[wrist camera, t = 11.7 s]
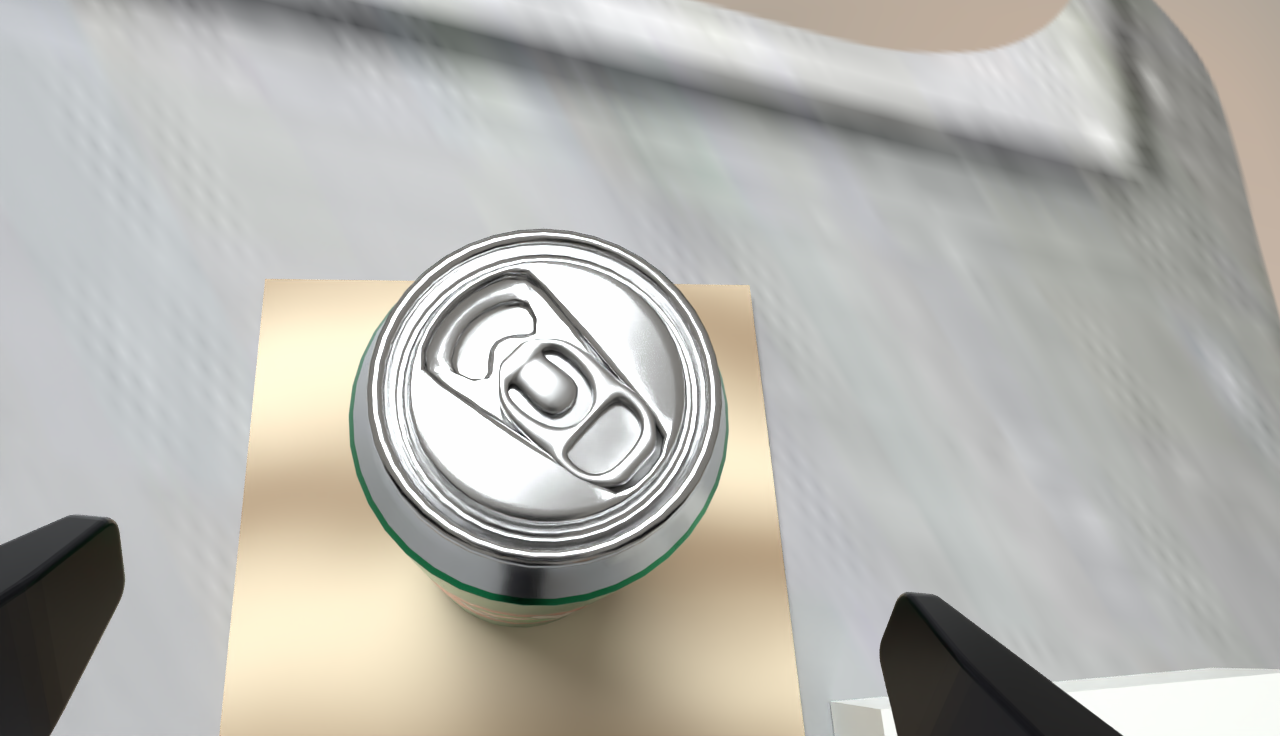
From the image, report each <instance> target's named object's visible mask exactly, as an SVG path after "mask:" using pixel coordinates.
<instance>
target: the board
mask: <svg viewBox="0 0 1280 736" xmlns="http://www.w3.org/2000/svg"><path fill="white" fill-rule="evenodd" d="M413 282H414V281H380V280H303V279H265V287H264V297H263V307H262V317H261V327H260V337H259V347H258V357H257V367H256V377H255V387H254V397H253V406H252V416H251V426H250V436H249V446H248V456H247V466H246V476H245V486H244V496H243V506H242V516H241V526H240V536H239V546H238V556H237V566H236V576H235V586H234V595H233V605H232V615H231V625H230V635H229V645H228V655H227V665H226V675H225V685H224V695H223V705H222V715H221V725H220V735H219V736H805V732H804V724H803V716H802V708H801V700H800V692H799V684H798V675H797V667H796V659H795V651H794V643H793V635H792V627H791V619H790V611H789V602H788V594H787V586H786V578H785V570H784V562H783V554H782V546H781V537H780V529H779V521H778V513H777V505H776V497H775V489H774V481H773V472H772V464H771V456H770V448H769V440H768V432H767V424H766V416H765V408H764V399H763V391H762V383H761V375H760V367H759V359H758V351H757V343H756V334H755V326H754V318H753V310H752V302H751V294H750V286H749V285H691V284H674V285H675V286H676V287H677V288H678V289H679V290H680V291H681V292H682V293H683V295H684V296H685V297H686V299H687V300H688V301H689V303H690V304H691V305H692V307H693V308H694V309H695V311H696V312H697V314H698V316H699V318H700V320H701V321H702V323H703V325H704V327H705V329H706V331H707V332H708V335H709V338H710V341H711V343H712V346H713V349H714V352H715V354H716V358H717V363H718V367H719V370H720V372H721V375H722V378H723V383H724V388H725V393H726V398H727V403H728V421H729V436H728V444H727V452H726V460H725V463H724V467H723V471H722V474H721V478H720V481H719V485H718V487H717V490H716V492H715V494H714V496H713V498H712V500H711V502H710V504H709V507H708V509H707V511H706V513H705V514H704V516H703V517H702V519H701V520H700V522H699V523H698V524H697V526H696V527H695V529H694V530H693V532H692V533H691V535H690V536H689V537H688V538H687V539H686V541H685V542H684V543H683V544H682V545H681V546H680V547H679V548H678V549H677V550H676V551H675V552H674V553H673V554H672V555H671V556H670V557H669V558H668V559H667V560H666V561H664V562H663V563H662V564H660V565H659V566H658V567H656V568H655V569H654V570H652V571H651V572H650V573H648V574H647V575H646V576H644V577H642V578H641V579H639V580H637V581H635V582H633V583H631V584H629V585H627V586H625V587H623V588H621V589H619V590H617V591H616V592H614V593H612V594H610V595H608V596H606V597H604V598H602V599H600V600H598V601H596V602H594V603H592V604H590V605H588V606H586V607H584V608H582V609H580V610H578V611H576V612H574V613H572V614H570V615H568V616H566V617H564V618H562V619H560V620H557V621H554V622H551V623H548V624H545V625H540V626H534V627H506V626H500V625H495V624H492V623H489V622H486V621H483V620H481V619H479V618H477V617H475V616H473V615H471V614H469V613H468V612H466V611H464V610H463V609H462V608H461V607H459V606H458V605H457V604H456V603H454V602H453V601H452V600H451V599H450V598H449V597H448V596H447V595H446V594H445V593H444V592H443V591H442V590H441V589H440V588H439V587H438V586H437V585H436V584H435V583H434V582H433V581H432V580H431V579H430V578H429V577H428V576H427V575H426V574H425V573H424V572H423V571H422V570H421V569H420V568H419V567H418V566H417V565H416V564H415V563H414V562H413V561H412V560H411V559H410V558H409V557H408V556H407V555H406V554H405V553H404V551H403V550H402V549H401V548H400V547H399V546H398V545H397V544H396V542H395V541H394V540H393V539H392V538H391V537H390V536H389V535H388V534H387V532H386V531H385V530H384V529H383V527H382V525H381V524H380V522H379V521H378V519H377V517H376V516H375V514H374V513H373V511H372V509H371V508H370V506H369V505H368V503H367V500H366V498H365V495H364V493H363V490H362V488H361V485H360V483H359V481H358V478H357V476H356V471H355V467H354V462H353V458H352V453H351V448H350V438H349V408H350V400H351V393H352V386H353V382H354V379H355V376H356V373H357V369H358V366H359V363H360V359H361V357H362V355H363V353H364V351H365V349H366V347H367V345H368V343H369V341H370V339H371V337H372V335H373V333H374V331H375V330H376V328H377V327H378V326H379V324H380V323H381V321H382V320H383V319H384V317H385V316H386V315H387V313H388V312H389V310H390V309H391V308H392V307H393V306H394V305H395V304H396V303H397V302H398V300H399V299H400V297H401V296H402V295H403V293H404V292H405V291H406V290H407V289H408V288H409V287H410V285H411V284H412V283H413Z"/></svg>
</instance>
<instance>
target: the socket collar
mask: <svg viewBox="0 0 1280 736" xmlns="http://www.w3.org/2000/svg"><path fill="white" fill-rule="evenodd" d="M1053 683H1054V684H1055V685H1057V686H1058V687H1059V688H1061V689H1062V690H1063V691H1065V692H1066V693H1067V694H1069V695H1070V696H1071V697H1073V698H1074V699H1075V700H1077V701H1078V702H1079V703H1081V704H1082V705H1083V706H1085V707H1086V708H1087V709H1089V710H1090V711H1091V712H1093V713H1094V714H1095V715H1097V716H1098V717H1099V718H1101V719H1102V720H1103V721H1104V722H1106V723H1107V724H1108V725H1110V726H1111V727H1112V728H1114V729H1115V730H1116V731H1118V732H1119V733H1120V734H1122V735H1123V736H1280V669H1246V668H1203V669H1192V670H1181V671H1169V672H1158V673H1147V674H1135V675H1124V676H1113V677H1101V678H1090V679H1079V680H1067V681H1056V682H1053ZM830 705H831V713H832V720H833V728H834V735H835V736H897V732H896V728H895V724H894V719H893V715H892V711H891V706H890V702H889V698H888V696H886V697H874V698H863V699H852V700H840V701H830Z"/></svg>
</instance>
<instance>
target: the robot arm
mask: <svg viewBox="0 0 1280 736" xmlns="http://www.w3.org/2000/svg"><path fill="white" fill-rule="evenodd" d="M124 585H125V574H124V565H123V557H122V549H121V541H120V533H119V528H118V525H117V524H116V522H115V521H114V520H112V519H111V518H108V517H99V516H88V515H69V516H67V517H64V518H62V519H59V520H57V521H55V522H53V523H50V524H48V525H46V526H43V527H41V528H39V529H36V530H34V531H32V532H30V533H27V534H25V535H23V536H20V537H18V538H16V539H13V540H11V541H9V542H7V543H4V544H2V545H0V736H50V734H51V733H52V731H53V729H54V727H55V726H56V724H57V722H58V720H59V718H60V717H61V715H62V713H63V711H64V709H65V707H66V705H67V703H68V701H69V699H70V698H71V696H72V694H73V692H74V690H75V688H76V686H77V684H78V682H79V680H80V678H81V676H82V674H83V672H84V670H85V668H86V666H87V664H88V662H89V660H90V659H91V657H92V655H93V653H94V651H95V649H96V647H97V645H98V643H99V641H100V639H101V637H102V635H103V633H104V631H105V629H106V627H107V625H108V623H109V621H110V620H111V618H112V616H113V614H114V612H115V610H116V608H117V606H118V604H119V602H120V600H121V597H122V594H123V590H124ZM880 663H881V668H882V672H883V676H884V681H885V685H886V689H887V694H888V698H889V702H890V706H891V711H892V715H893V719H894V724H895V728H896V732H897V736H1123V735H1122V734H1120V733H1119V732H1118V731H1116V730H1115V729H1114V728H1112V727H1111V726H1110V725H1108V724H1107V723H1106V722H1104V721H1103V720H1102V719H1101V718H1099V717H1098V716H1097V715H1095V714H1094V713H1093V712H1091V711H1090V710H1089V709H1087V708H1086V707H1085V706H1083V705H1082V704H1081V703H1079V702H1078V701H1077V700H1075V699H1074V698H1073V697H1071V696H1070V695H1069V694H1067V693H1066V692H1065V691H1063V690H1062V689H1061V688H1059V687H1058V686H1057V685H1055V684H1054V683H1053V682H1051V681H1050V680H1049V679H1047V678H1046V677H1045V676H1043V675H1042V674H1041V673H1039V672H1038V671H1037V670H1035V669H1034V668H1033V667H1031V666H1030V665H1029V664H1027V663H1026V662H1025V661H1023V660H1022V659H1021V658H1019V657H1018V656H1017V655H1015V654H1014V653H1013V652H1011V651H1010V650H1009V649H1007V648H1006V647H1005V646H1003V645H1002V644H1001V643H999V642H998V641H997V640H995V639H994V638H993V637H991V636H990V635H989V634H987V633H986V632H985V631H983V630H982V629H981V628H979V627H978V626H977V625H975V624H974V623H973V622H971V621H970V620H969V619H967V618H966V617H965V616H963V615H962V614H961V613H960V612H958V611H957V610H956V609H954V608H953V607H952V606H950V605H949V604H948V603H946V602H945V601H944V600H942V599H941V598H939V597H938V596H936V595H933V594H925V593H914V592H906V593H903V594H901V595H900V597H899V598H898V599H897V601H896V604H895V606H894V609H893V611H892V614H891V617H890V619H889V622H888V624H887V627H886V630H885V632H884V635H883V637H882V640H881V644H880Z"/></svg>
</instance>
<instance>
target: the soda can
mask: <svg viewBox="0 0 1280 736" xmlns="http://www.w3.org/2000/svg"><path fill="white" fill-rule="evenodd" d="M728 436H729V421H728V403H727V398H726V393H725V388H724V383H723V378H722V375H721V372H720V370H719V367H718V363H717V358H716V354H715V352H714V349H713V346H712V343H711V341H710V338H709V335H708V332H707V331H706V329H705V327H704V325H703V323H702V321H701V320H700V318H699V316H698V314H697V312H696V311H695V309H694V308H693V307H692V305H691V304H690V303H689V301H688V300H687V299H686V297H685V296H684V295H683V293H682V292H681V291H680V290H679V289H678V288H677V287H676V286H675V285H674V284H673V283H672V282H671V281H670V280H669V279H668V278H667V277H666V276H665V275H664V274H663V273H662V272H661V271H659V270H658V269H657V268H655V267H654V266H652V265H651V264H650V263H648V262H647V261H646V260H644V259H643V258H642V257H640V256H638V255H636V254H634V253H632V252H630V251H629V250H627V249H625V248H623V247H621V246H619V245H617V244H614V243H611V242H609V241H606V240H603V239H601V238H598V237H595V236H591V235H586V234H582V233H577V232H573V231H565V230H552V229H533V230H517V231H512V232H507V233H502V234H497V235H493V236H490V237H487V238H484V239H481V240H478V241H476V242H473V243H470V244H468V245H466V246H464V247H462V248H460V249H458V250H456V251H454V252H452V253H450V254H449V255H447V256H445V257H444V258H442V259H441V260H439V261H438V262H437V263H435V264H434V265H433V266H431V267H430V268H429V269H427V270H426V271H425V272H423V273H422V274H421V275H420V276H419V277H418V278H417V279H416V280H415V281H414V282H413V283H412V284H411V285H410V287H409V288H408V289H407V290H406V291H405V292H404V293H403V295H402V296H401V297H400V299H399V300H398V302H397V303H396V304H395V305H394V306H393V307H392V308H391V309H390V310H389V312H388V313H387V315H386V316H385V317H384V319H383V320H382V321H381V323H380V324H379V326H378V327H377V328H376V330H375V331H374V333H373V335H372V337H371V339H370V341H369V343H368V345H367V347H366V349H365V351H364V353H363V355H362V357H361V359H360V363H359V366H358V369H357V373H356V376H355V379H354V382H353V386H352V393H351V400H350V408H349V438H350V448H351V453H352V458H353V462H354V467H355V471H356V476H357V478H358V481H359V483H360V485H361V488H362V490H363V493H364V495H365V498H366V500H367V503H368V505H369V506H370V508H371V509H372V511H373V513H374V514H375V516H376V517H377V519H378V521H379V522H380V524H381V525H382V527H383V529H384V530H385V531H386V532H387V534H388V535H389V536H390V537H391V538H392V539H393V540H394V541H395V542H396V544H397V545H398V546H399V547H400V548H401V549H402V550H403V551H404V553H405V554H406V555H407V556H408V557H409V558H410V559H411V560H412V561H413V562H414V563H415V564H416V565H417V566H418V567H419V568H420V569H421V570H422V571H423V572H424V573H425V574H426V575H427V576H428V577H429V578H430V579H431V580H432V581H433V582H434V583H435V584H436V585H437V586H438V587H439V588H440V589H441V590H442V591H443V592H444V593H445V594H446V595H447V596H448V597H449V598H450V599H451V600H452V601H453V602H454V603H456V604H457V605H458V606H459V607H461V608H462V609H463V610H464V611H466V612H468V613H469V614H471V615H473V616H475V617H477V618H479V619H481V620H483V621H486V622H489V623H492V624H495V625H500V626H506V627H534V626H540V625H545V624H548V623H551V622H554V621H557V620H560V619H562V618H564V617H566V616H568V615H570V614H572V613H574V612H576V611H578V610H580V609H582V608H584V607H586V606H588V605H590V604H592V603H594V602H596V601H598V600H600V599H602V598H604V597H606V596H608V595H610V594H612V593H614V592H616V591H617V590H619V589H621V588H623V587H625V586H627V585H629V584H631V583H633V582H635V581H637V580H639V579H641V578H642V577H644V576H646V575H647V574H648V573H650V572H651V571H652V570H654V569H655V568H656V567H658V566H659V565H660V564H662V563H663V562H664V561H666V560H667V559H668V558H669V557H670V556H671V555H672V554H673V553H674V552H675V551H676V550H677V549H678V548H679V547H680V546H681V545H682V544H683V543H684V542H685V541H686V539H687V538H688V537H689V536H690V535H691V533H692V532H693V530H694V529H695V527H696V526H697V524H698V523H699V522H700V520H701V519H702V517H703V516H704V514H705V513H706V511H707V509H708V507H709V504H710V502H711V500H712V498H713V496H714V494H715V492H716V490H717V487H718V485H719V481H720V478H721V474H722V471H723V467H724V463H725V460H726V452H727V444H728Z"/></svg>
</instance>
